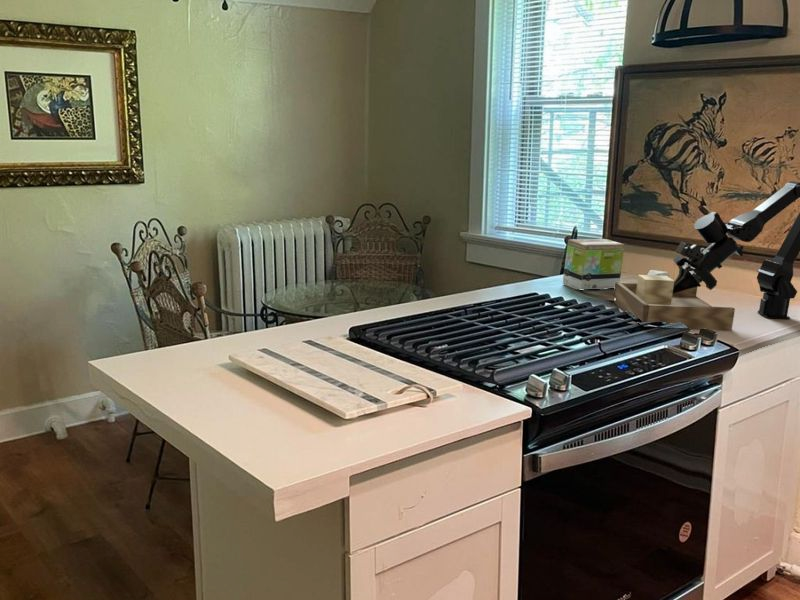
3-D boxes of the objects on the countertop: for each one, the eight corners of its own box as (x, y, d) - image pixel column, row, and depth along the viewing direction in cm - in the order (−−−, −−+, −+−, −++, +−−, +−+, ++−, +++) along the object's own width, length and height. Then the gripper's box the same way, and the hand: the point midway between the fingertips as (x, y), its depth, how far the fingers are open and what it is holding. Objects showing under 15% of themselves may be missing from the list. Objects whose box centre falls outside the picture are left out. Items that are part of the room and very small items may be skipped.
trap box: (693, 305, 230) (695, 285, 229) (731, 330, 205) (735, 308, 203) (613, 301, 229) (615, 281, 228) (641, 327, 204) (644, 305, 202)
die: (673, 299, 239) (659, 269, 242) (681, 291, 231) (667, 260, 234) (647, 308, 239) (634, 278, 242) (654, 300, 231) (640, 270, 233)
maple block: (663, 301, 219) (666, 275, 218) (670, 307, 214) (674, 280, 212) (635, 300, 219) (638, 274, 217) (641, 306, 213) (645, 279, 212)
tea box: (581, 292, 240) (586, 244, 236) (561, 284, 249) (566, 238, 245) (620, 289, 246) (625, 243, 243) (599, 282, 255) (604, 237, 251)
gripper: (684, 227, 220) (641, 264, 223) (711, 238, 202) (663, 278, 205) (708, 256, 223) (664, 292, 225) (736, 269, 204) (689, 309, 207)
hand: (669, 292), depth 215 cm, fingers closed, pressing on maple block
